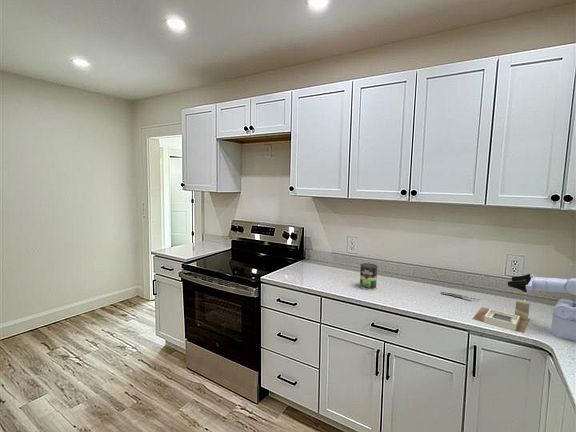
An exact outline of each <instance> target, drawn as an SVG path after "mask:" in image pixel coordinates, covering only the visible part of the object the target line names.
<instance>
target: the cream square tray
mask: <svg viewBox="0 0 576 432" xmlns="http://www.w3.org/2000/svg"><path fill="white" fill-rule="evenodd" d="M488 309H489V311H488V312H487V314H486V315H485V318H484V322H483V323H485V324H488V323H489V324H488V325H492V326H496V327H499V326H500V328H502V329H507V330H510V329H511V330H510V331H514V332H517V331H516V329H517V327H518V324H519V322H520V316H518V315H515V313H514V314H513V313H510V312H505V311H501V310H497V309H494V308H488Z"/></svg>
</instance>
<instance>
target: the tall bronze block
mask: <svg viewBox="0 0 576 432" xmlns="http://www.w3.org/2000/svg"><path fill="white" fill-rule="evenodd" d="M530 304H531V303H530V302H527V301H523V300H516V301H515V310H514V311H515V312H514V315H518V316H520V319H523V320H528V319H529V313H530V306H531V305H530Z"/></svg>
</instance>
